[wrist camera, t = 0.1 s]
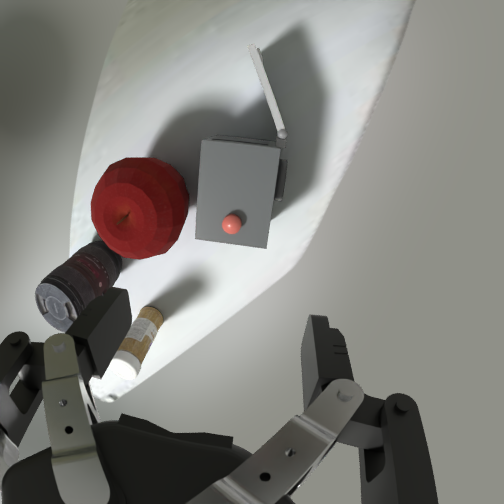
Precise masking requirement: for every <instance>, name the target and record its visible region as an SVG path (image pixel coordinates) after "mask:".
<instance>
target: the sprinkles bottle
mask: <svg viewBox="0 0 504 504" xmlns="http://www.w3.org/2000/svg"><path fill="white" fill-rule="evenodd" d="M162 323H163V317H162V314H161V313H160V312H159V311H158V310H157V309H155V308H153V307H144V308H142V309H141V310H140V313H139V315H138V317H137V318H136V320H135V321H134V322H133V324H132V325H131V328H130V330H129V332H128V333H127V335H126V337H125V338H124V340H123V342H122V343H121V345H120V347H119V349H118V350H117V352H116V354H115V355H114V357H113V359H112V361H111V362H110V368H111V369H112V371H113V372H114V373H115V374H116V375H118V376H119V377H121V378H124V379H127V380H132V379H135V378H136V377H137V375H138V374H139V372H140V369H141V364H142V362H143V360H144V358H145V356H146V354H147V352H148V350H149V348H150V346H151V344H152V342H153V341H154V339H155V337H156V335H157V332H158V330H159V328H160V326H161V325H162Z"/></svg>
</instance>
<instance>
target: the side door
mask: <svg viewBox="0 0 504 504" xmlns="http://www.w3.org/2000/svg"><path fill="white" fill-rule="evenodd" d="M247 47H248V50H249V52H250V55H251V58H252V60H253V63H254V66H255V68H256V71H257V74H258V77H259V79H260V82H261V85H262V88H263V90H264V93H265V96H266V99H267V102H268V105H269V108H270V110H271V113H272V116H273V119H274V122H275V125H276V128H277V134H278V137H279V138H281V139H284V138H286V137H287V131H286V130H285V127H284V124H283V121H282V118H281V115H280V112H279V109H278V107H277V104H276V101H275V98H274V95H273V92H272V89H271V86H270V84H269V81H268V78H267V75H266V73H265V70H264V67H263V64H262V63H263V58H262V54H261V51H260V49H259V48H257V49H256V46H255V43H254V44H251V45H248V46H247Z"/></svg>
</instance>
